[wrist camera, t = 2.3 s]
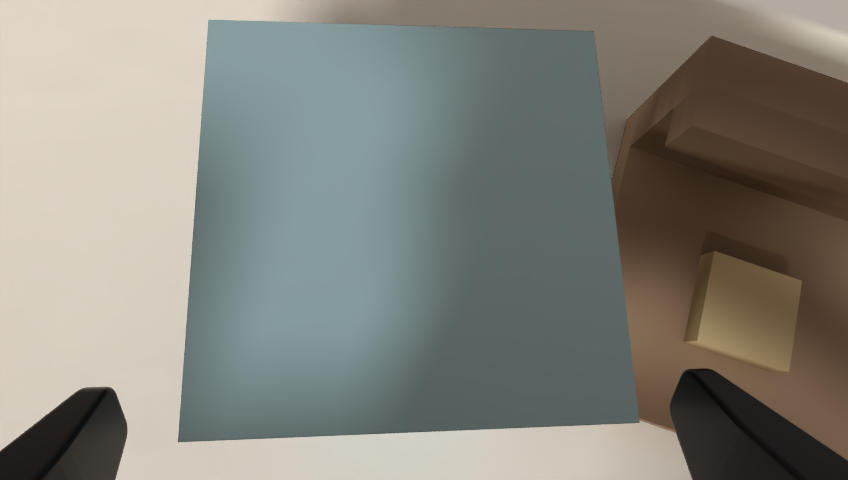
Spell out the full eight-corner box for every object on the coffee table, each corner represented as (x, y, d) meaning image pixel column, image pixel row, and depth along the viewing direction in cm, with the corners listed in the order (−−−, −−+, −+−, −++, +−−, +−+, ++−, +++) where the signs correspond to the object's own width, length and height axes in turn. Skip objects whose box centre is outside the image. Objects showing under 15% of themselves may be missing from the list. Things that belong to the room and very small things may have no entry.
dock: (830, 484, 19) (1011, 530, 13) (559, 392, 19) (633, 401, 13) (863, 200, 21) (1025, 144, 16) (627, 119, 21) (711, 35, 16)
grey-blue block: (485, 392, 18) (639, 422, 8) (295, 399, 18) (178, 442, 7) (474, 177, 20) (585, -39, 10) (300, 176, 20) (213, -55, 9)
